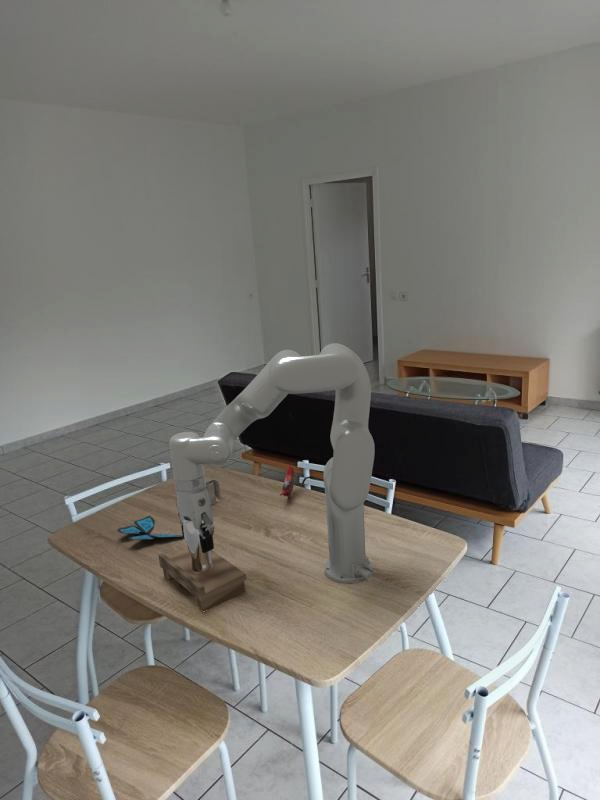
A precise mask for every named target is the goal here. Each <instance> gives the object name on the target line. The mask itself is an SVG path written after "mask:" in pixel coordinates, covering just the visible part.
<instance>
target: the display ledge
mask: <svg viewBox="0 0 600 800" xmlns="http://www.w3.org/2000/svg"><path fill="white" fill-rule="evenodd" d="M157 556H158V561H159V562H158V563H159V567H160V568H162V571H163V572H162V573H163V577H165V578H166V579H165V578H164V579H165V580H167V582H169V581H171V582H173V581H176V582H178V583H179V584H180V585H181V586H182V587H183V588H184V589H186V590H187V591H188V592H189V593H190V594H192V595H193V596H194V597H195V599H196V603H197V604H196V605H197V608H198V607H199V608H198V609H200V610H201V611H202V610H203V611H205V612H207V611H209V610H211V609H214V608H215V607H217V606H219V605H221V604H223V603H225V602H227V601H229V600H231V599H233V598H235V597H238V596H239V595H241V594H243V593H245V592H246V585H245V581H246V580H248V579H247V573H245V572H244V571H242V570H241V569H240V568H238V567H237V566H236V565H234V564H233V563H231V562H230V561H228V560H227V559H226V558H224V557H222V556H221V555H220V554H218V553H217V552H215V551H214V549H213V550H211V557H212V560H213V563H214V568H213V569H212V570H211V571H210V572H208V573H205V574H194V573H192V572H191V570H190V563H191V559H190V554H189V551H188V548H187V549H184V550H183V551H179V552H177V553H175V554H172V555H171V556H167V555H166V554H164V553H163V552H160V553H158V555H157ZM174 579H175V580H174ZM172 580H173V581H172ZM206 610H207V611H206ZM203 611H202V612H203Z"/></svg>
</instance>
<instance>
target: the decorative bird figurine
mask: <svg viewBox="0 0 600 800" xmlns="http://www.w3.org/2000/svg"><path fill="white" fill-rule="evenodd" d="M294 470H295V469H294V467H293V465H288V467H287V469H286V473H285V474H286V475H285V478H284V481H283V485H282V489H281V492H280V494H279V495H280V496H284V497H287V501H289V500H290V498H291V497H292V493H293V490H294V486H295V485H294V484H295V472H294Z"/></svg>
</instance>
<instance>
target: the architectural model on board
mask: <svg viewBox="0 0 600 800" xmlns="http://www.w3.org/2000/svg"><path fill="white" fill-rule="evenodd" d="M220 487H221V486H220V481H219V480H218V479H215V478H213V479H210V480H209V481H206V487H205V488H206V489H207V492H208V495H209V499H210V503H211V505H213V504H215V503H217V502H219V501H221V500H222V498H221V490H220V489H221V488H220Z"/></svg>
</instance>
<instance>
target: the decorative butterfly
mask: <svg viewBox="0 0 600 800" xmlns="http://www.w3.org/2000/svg"><path fill="white" fill-rule="evenodd" d="M155 522H156V520H155V519H154V518H153V517H152V516H151V515H148V516H145V517H143V518H140V519H137V520H134V522H133V525H129V526H125V527H120V528H117V532H118V533H120V534H128V535H134V536H130V537H128V539H129V540H134V541H135V540H136V541H140V540H154V539H155V538H175V537H179V538H180V537H181V538H183V535H180V534H167V533H165V534H162V533H152V534H151V533H150V532H151V531H153V529H155V525H156V523H155ZM154 524H155V525H154Z"/></svg>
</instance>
